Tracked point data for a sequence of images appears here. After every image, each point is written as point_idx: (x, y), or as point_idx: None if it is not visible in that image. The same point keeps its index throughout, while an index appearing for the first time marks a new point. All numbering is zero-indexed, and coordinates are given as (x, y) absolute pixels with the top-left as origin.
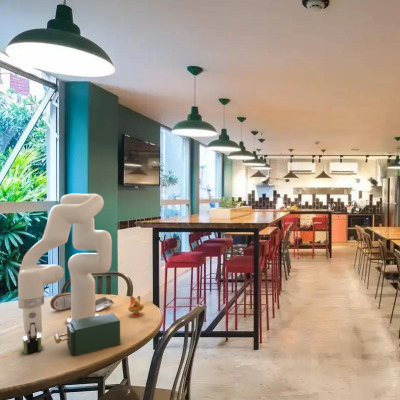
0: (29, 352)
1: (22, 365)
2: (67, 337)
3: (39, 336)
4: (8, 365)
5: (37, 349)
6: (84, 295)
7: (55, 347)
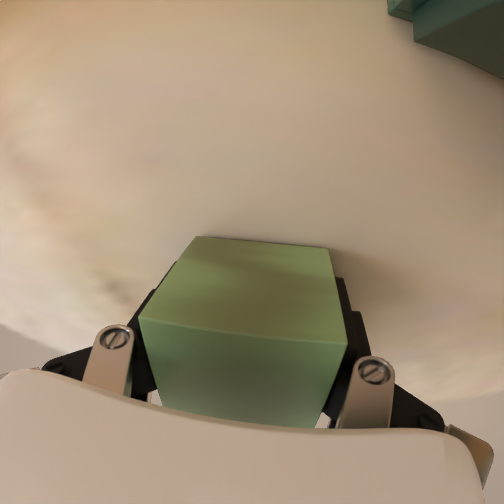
0: None
1: (474, 354)
2: (489, 36)
3: (297, 352)
4: None
5: (342, 287)
6: None
7: (345, 129)
